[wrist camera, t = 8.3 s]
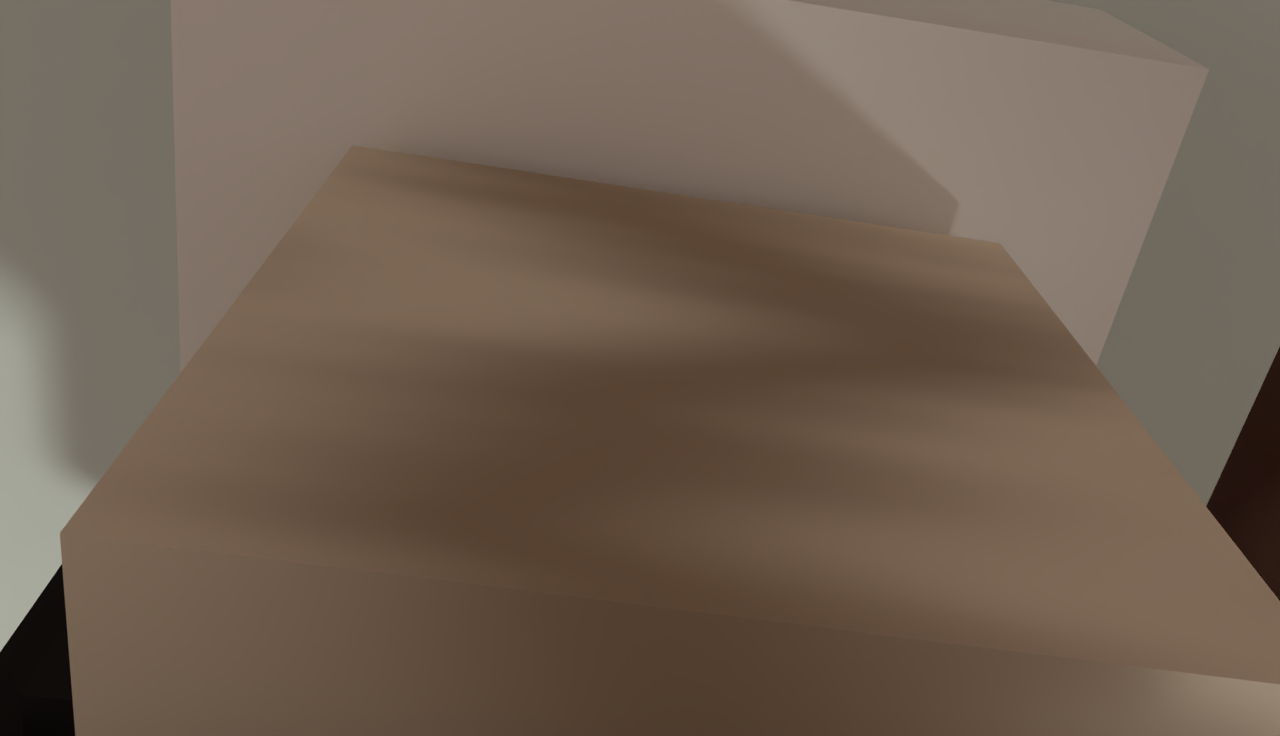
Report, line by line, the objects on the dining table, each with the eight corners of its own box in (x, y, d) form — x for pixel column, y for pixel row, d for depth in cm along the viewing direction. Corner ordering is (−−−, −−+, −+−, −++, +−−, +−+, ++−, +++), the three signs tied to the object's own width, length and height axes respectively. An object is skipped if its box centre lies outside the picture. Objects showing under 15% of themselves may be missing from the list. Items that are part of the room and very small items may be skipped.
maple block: (999, 243, 12) (1350, 694, 6) (848, 723, 15) (987, 1340, 9) (352, 145, 11) (57, 532, 6) (326, 662, 14) (116, 1271, 8)
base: (1463, -301, 14) (1833, -325, 10) (1017, 758, 23) (1112, 1003, 18) (-55, -596, 13) (-410, -775, 9) (59, 650, 21) (-91, 887, 17)
